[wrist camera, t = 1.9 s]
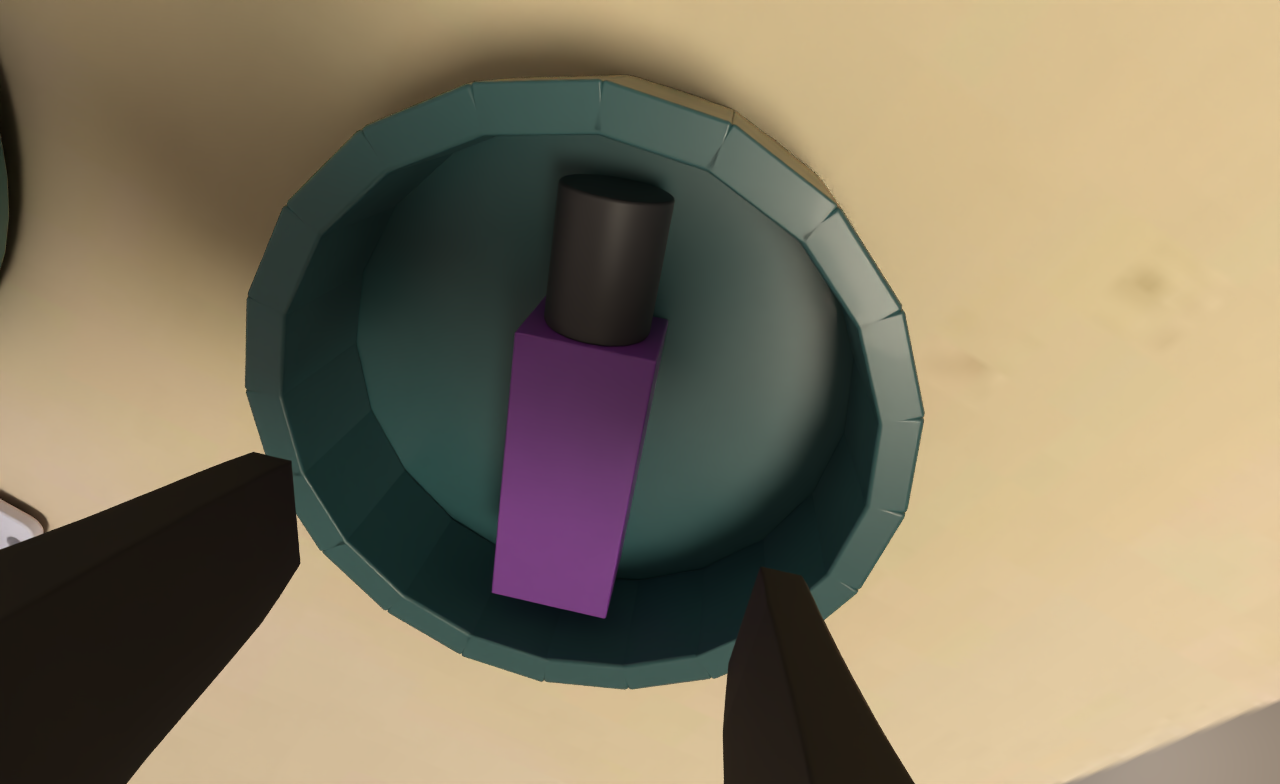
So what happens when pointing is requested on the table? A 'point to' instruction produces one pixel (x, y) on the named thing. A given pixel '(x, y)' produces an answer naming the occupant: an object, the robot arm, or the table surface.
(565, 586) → the nail polish bottle
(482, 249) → the tin
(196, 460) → the table surface
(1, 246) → the tin lid
